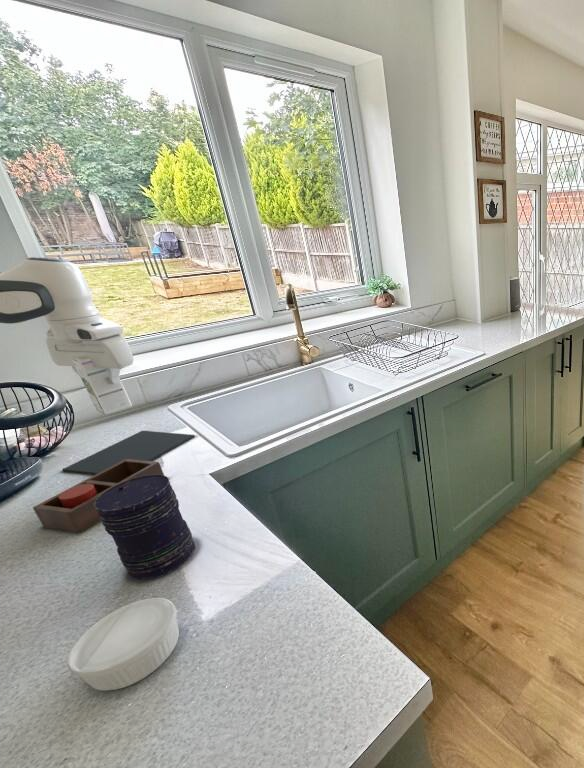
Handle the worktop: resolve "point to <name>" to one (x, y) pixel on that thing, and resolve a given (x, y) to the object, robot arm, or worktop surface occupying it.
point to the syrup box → (101, 387)
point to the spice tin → (77, 495)
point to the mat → (130, 451)
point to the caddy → (86, 513)
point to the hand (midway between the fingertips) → (102, 382)
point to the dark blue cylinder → (146, 526)
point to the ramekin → (126, 644)
